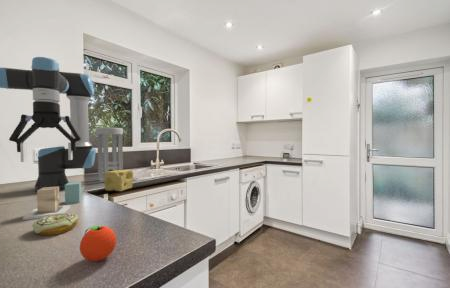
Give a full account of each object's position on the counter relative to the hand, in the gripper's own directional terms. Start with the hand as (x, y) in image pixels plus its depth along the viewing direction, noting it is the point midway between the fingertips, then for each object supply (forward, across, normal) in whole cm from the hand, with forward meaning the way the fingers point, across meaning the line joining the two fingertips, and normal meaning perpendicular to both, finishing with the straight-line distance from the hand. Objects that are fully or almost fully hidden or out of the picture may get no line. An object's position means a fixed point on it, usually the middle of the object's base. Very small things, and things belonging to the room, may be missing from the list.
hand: (48, 160), depth 79 cm
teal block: (+19, +5, +13) cm, 24 cm away
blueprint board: (+19, 0, 0) cm, 19 cm away
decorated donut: (+19, +7, -20) cm, 29 cm away
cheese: (+20, +22, +33) cm, 44 cm away
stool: (+20, +16, +65) cm, 70 cm away
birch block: (+18, 0, 0) cm, 18 cm away
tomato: (+19, +20, -44) cm, 52 cm away
